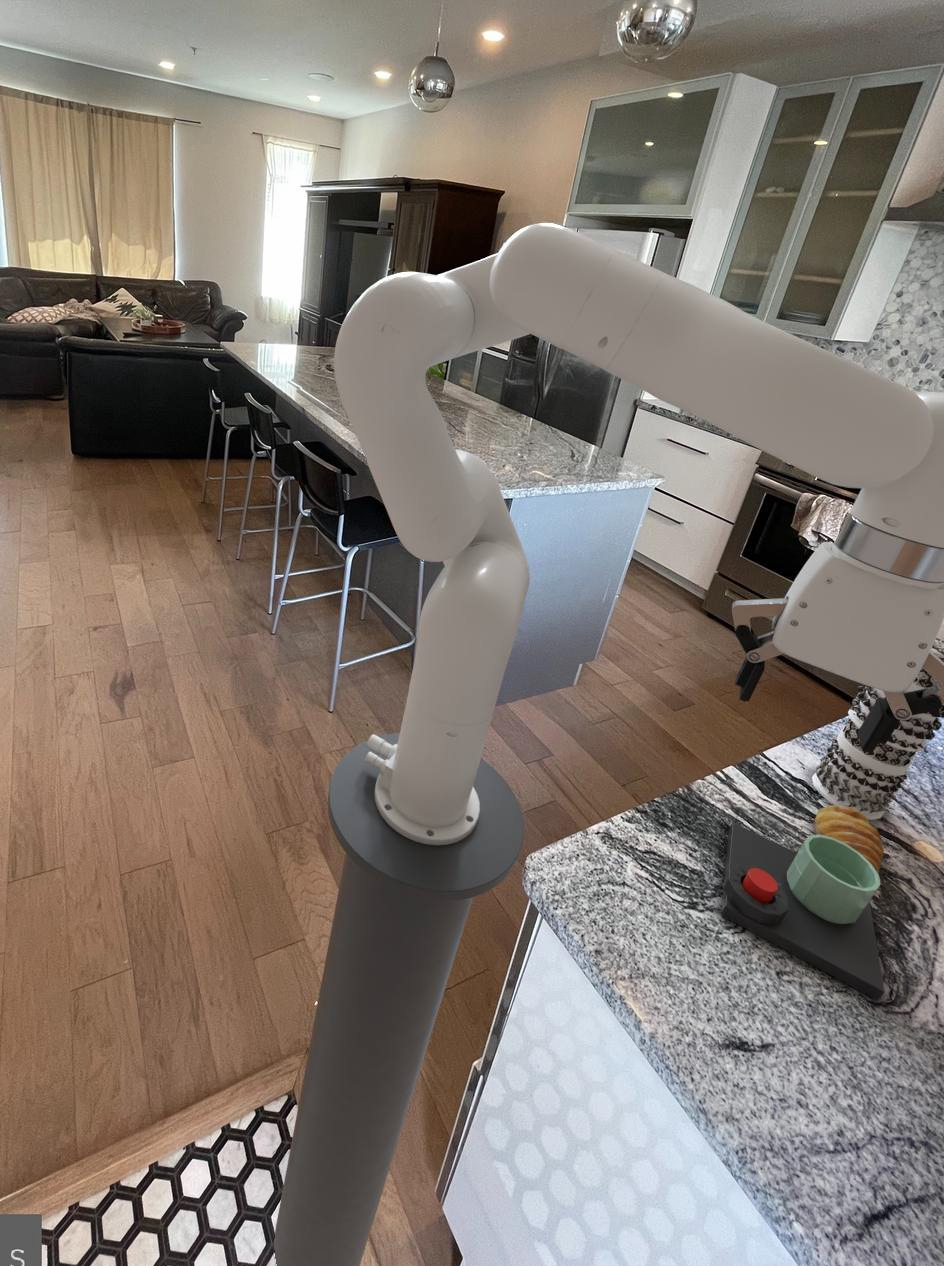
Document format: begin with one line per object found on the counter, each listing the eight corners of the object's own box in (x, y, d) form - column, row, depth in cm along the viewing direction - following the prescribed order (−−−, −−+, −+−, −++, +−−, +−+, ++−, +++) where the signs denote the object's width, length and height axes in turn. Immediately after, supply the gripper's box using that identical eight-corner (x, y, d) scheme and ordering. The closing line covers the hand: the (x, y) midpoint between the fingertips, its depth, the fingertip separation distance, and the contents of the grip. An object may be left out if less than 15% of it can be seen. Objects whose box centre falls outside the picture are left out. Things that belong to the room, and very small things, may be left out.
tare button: (741, 893, 66) (748, 881, 66) (743, 874, 69) (748, 863, 68) (771, 908, 65) (778, 897, 65) (771, 889, 68) (778, 877, 67)
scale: (716, 913, 67) (727, 893, 66) (725, 828, 78) (734, 810, 77) (878, 1001, 60) (892, 981, 59) (862, 895, 72) (873, 876, 71)
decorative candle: (866, 830, 81) (964, 672, 72) (795, 779, 89) (876, 629, 79) (900, 811, 86) (997, 659, 76) (829, 763, 93) (910, 619, 83)
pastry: (888, 896, 72) (904, 872, 71) (821, 868, 75) (835, 845, 73) (867, 837, 80) (881, 815, 79) (807, 814, 83) (819, 792, 81)
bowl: (785, 901, 68) (806, 865, 66) (784, 858, 73) (804, 824, 71) (859, 940, 65) (884, 903, 63) (853, 892, 70) (875, 857, 68)
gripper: (1016, 575, 50) (908, 742, 56) (773, 505, 57) (703, 660, 64) (1051, 609, 44) (925, 791, 50) (773, 526, 51) (696, 695, 58)
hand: (801, 718), depth 57 cm, fingers open, 9 cm apart
